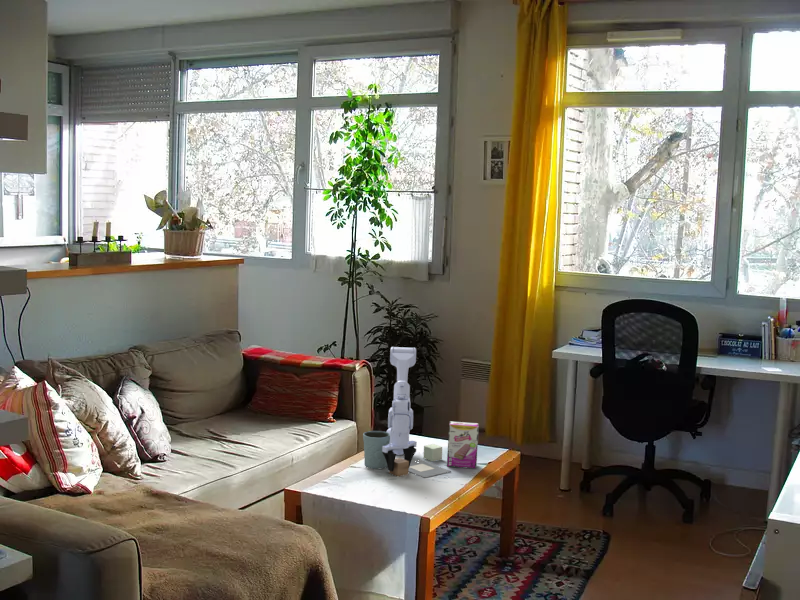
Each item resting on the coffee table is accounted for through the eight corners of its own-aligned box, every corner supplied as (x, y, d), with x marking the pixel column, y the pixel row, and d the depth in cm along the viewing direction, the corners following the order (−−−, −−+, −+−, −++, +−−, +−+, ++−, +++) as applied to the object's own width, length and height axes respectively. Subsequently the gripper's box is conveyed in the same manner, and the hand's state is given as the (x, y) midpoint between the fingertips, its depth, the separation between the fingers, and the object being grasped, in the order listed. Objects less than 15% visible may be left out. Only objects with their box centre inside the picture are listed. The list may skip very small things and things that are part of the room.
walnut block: (388, 473, 309) (389, 460, 308) (399, 471, 312) (399, 457, 311) (397, 477, 305) (398, 463, 304) (408, 474, 308) (408, 461, 307)
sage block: (423, 458, 329) (424, 445, 328) (433, 456, 332) (433, 443, 331) (432, 461, 325) (432, 448, 324) (441, 459, 328) (442, 446, 328)
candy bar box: (446, 467, 318) (448, 424, 317) (447, 463, 323) (449, 420, 322) (476, 469, 317) (478, 426, 316) (476, 465, 322) (478, 422, 321)
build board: (392, 465, 318) (392, 464, 318) (418, 459, 326) (418, 458, 326) (424, 478, 304) (424, 477, 304) (450, 471, 313) (451, 470, 313)
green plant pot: (380, 471, 310) (381, 439, 309) (356, 466, 315) (357, 434, 314) (394, 464, 319) (395, 433, 318) (371, 459, 324) (372, 428, 323)
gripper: (391, 437, 299) (390, 475, 300) (422, 431, 308) (421, 468, 310) (379, 432, 304) (377, 470, 306) (409, 427, 314) (408, 463, 315)
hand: (398, 468), depth 308 cm, fingers open, 7 cm apart
